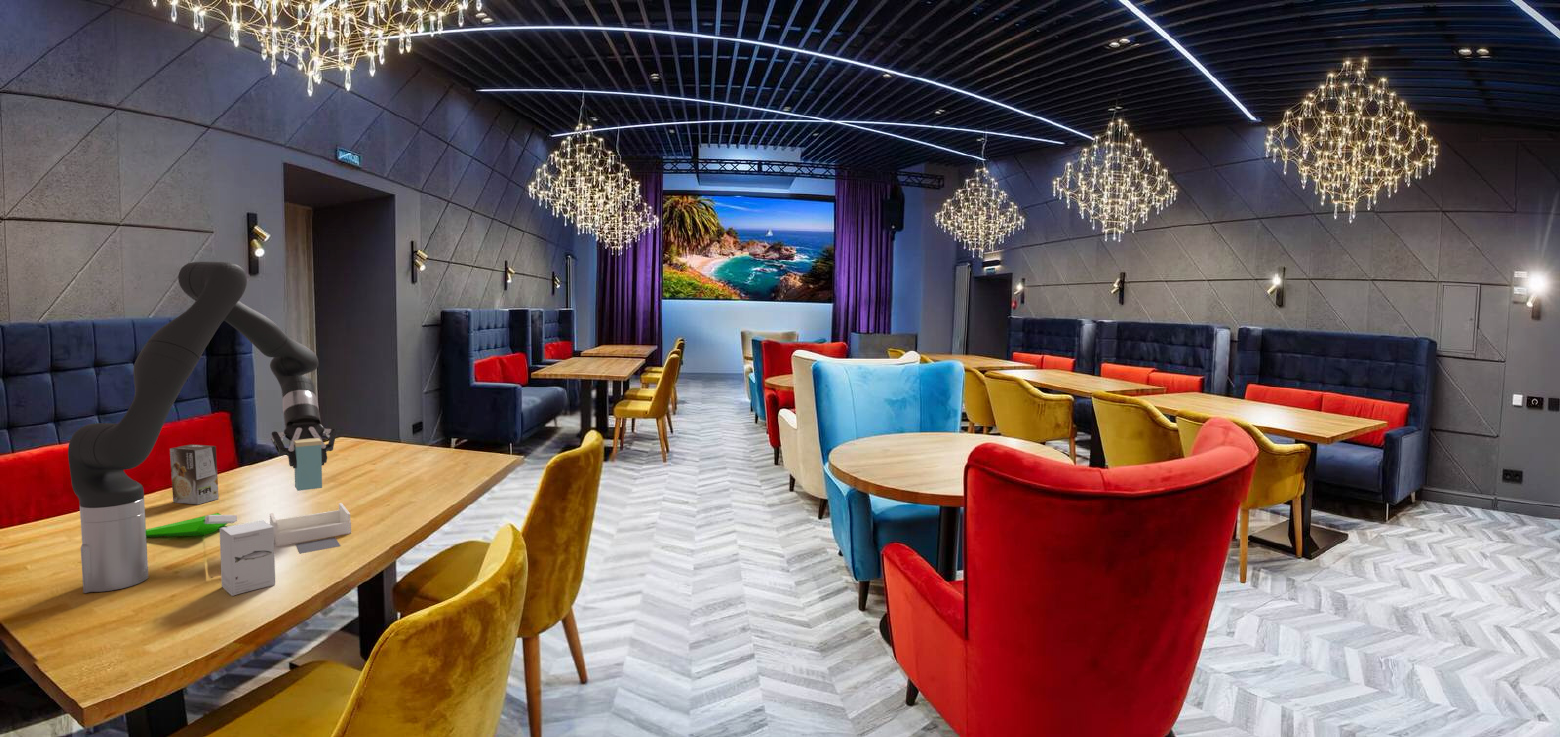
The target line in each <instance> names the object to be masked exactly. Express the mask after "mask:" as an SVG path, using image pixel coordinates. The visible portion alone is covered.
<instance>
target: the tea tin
mask: <svg viewBox="0 0 1560 737" xmlns="http://www.w3.org/2000/svg"><path fill="white" fill-rule="evenodd" d="M322 441H323V440H322ZM322 441H321V440H320V439H319V438H308V439H299V440H294V445H295V450H294V452H296V460H297V468H294V488H295V489H296V491H299V492H300V491H307V490H316V489H317V490H318V489H322V488H323V470H322V469H323V467H322V466H323V465H322V458H321V445H322Z"/></svg>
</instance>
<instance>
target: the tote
mask: <svg viewBox="0 0 1560 737" xmlns="http://www.w3.org/2000/svg"><path fill="white" fill-rule="evenodd" d="M269 524H270V525H271V526H273V527H274V546H275V547H281V546H286V545H292V544H298V543H304V542H309V541H315V540H321V539H326V538H332V537H337V536H344V535H350V534H352V522H351V513H350V511H349V510H348V509H347V507H346V506H345V505H344V504H343V503H342V502H339V503H338V509H337V510H336V509H335V510H332V511H331V510H330V511H324V512H323V511H322V512H317V513H311V514H305V515H298V516H292V517H291V516H290V517H285V518H278V519H276V517H275V515H274V513H273V512H272V513H271V512H270V513H269Z"/></svg>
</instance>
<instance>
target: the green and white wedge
mask: <svg viewBox="0 0 1560 737" xmlns="http://www.w3.org/2000/svg"><path fill="white" fill-rule="evenodd" d="M236 522H238V515H235V514H221V513H219V512H216V513H212V514H211V513H210V514H207V515H202V516H199V517H195V518H191V519H187V520H181V521H177V522H176V521H175V522H172V523H168V524H164V525H160V526H156V527H155V526H154V527H152V528H148V529H147V528H146V538H156V537H157V538H158V537H159V536H161V537H159V538H163V537H162V536H169V537H199V536H201V537H205V535H209V534H212V533H215V532H216V531H218V530H220V528H223V527H226V525H228V524H234V523H236Z"/></svg>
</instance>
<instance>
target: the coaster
mask: <svg viewBox="0 0 1560 737" xmlns="http://www.w3.org/2000/svg"><path fill="white" fill-rule="evenodd" d="M294 545H295V547H296V549H297V551H298V553H299V554H301V555H302V554H306V553H311V552H316V551H320V550H328V549H332V548H339V547H341V544H340V542H339V541H338V539H337V538H336V536H333V537H327V538H321V539H316V540H310V541H304V542H299V543H294Z"/></svg>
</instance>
